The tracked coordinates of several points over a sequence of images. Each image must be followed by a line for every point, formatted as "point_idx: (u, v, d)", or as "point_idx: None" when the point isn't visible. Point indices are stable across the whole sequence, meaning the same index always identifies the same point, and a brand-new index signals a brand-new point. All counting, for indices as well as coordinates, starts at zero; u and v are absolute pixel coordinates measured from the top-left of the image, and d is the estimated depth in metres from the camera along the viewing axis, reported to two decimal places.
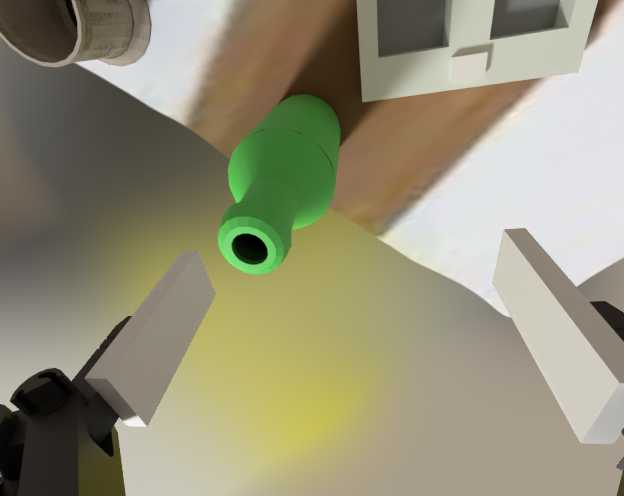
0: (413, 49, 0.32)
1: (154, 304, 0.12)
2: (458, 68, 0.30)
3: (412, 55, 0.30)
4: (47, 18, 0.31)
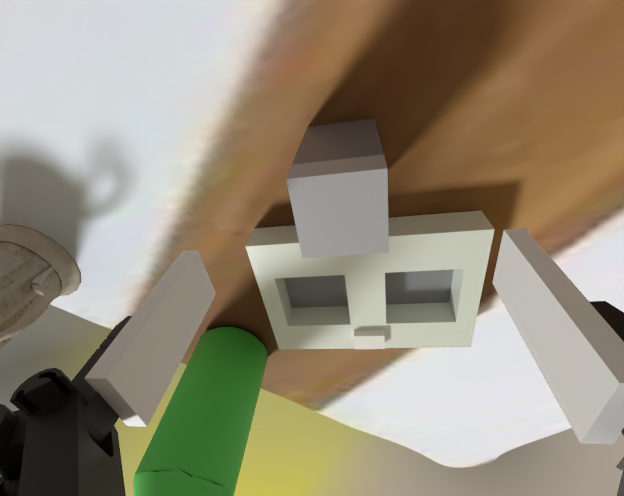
0: (324, 306, 0.34)
1: (154, 304, 0.12)
2: (360, 342, 0.32)
3: (318, 326, 0.32)
4: None
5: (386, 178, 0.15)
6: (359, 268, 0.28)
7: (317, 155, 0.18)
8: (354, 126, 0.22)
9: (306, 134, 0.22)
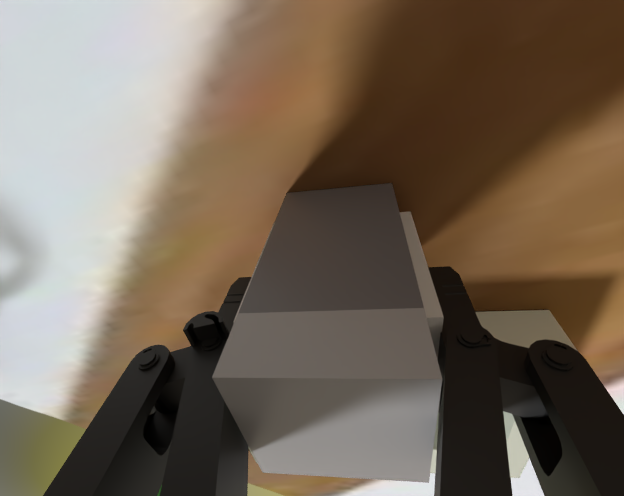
0: None
1: None
2: None
3: None
4: None
5: (437, 393, 0.07)
6: None
7: (291, 285, 0.10)
8: (360, 201, 0.13)
9: (281, 213, 0.14)
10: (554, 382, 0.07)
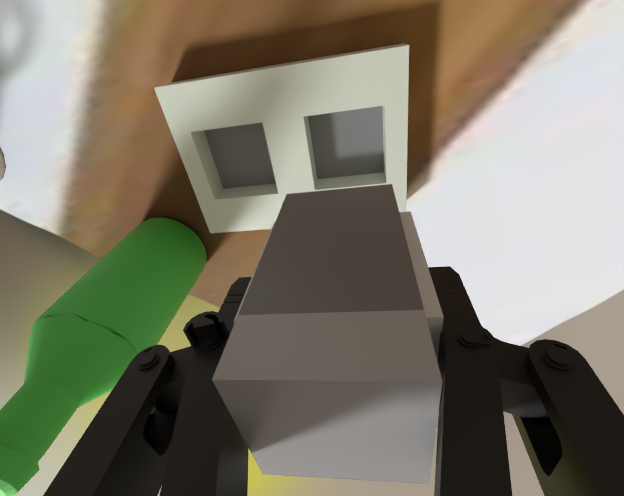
0: (256, 184, 0.33)
1: None
2: None
3: (245, 198, 0.31)
4: None
5: (437, 395, 0.07)
6: (276, 111, 0.26)
7: (291, 287, 0.10)
8: (360, 202, 0.13)
9: (281, 214, 0.14)
10: (554, 382, 0.07)
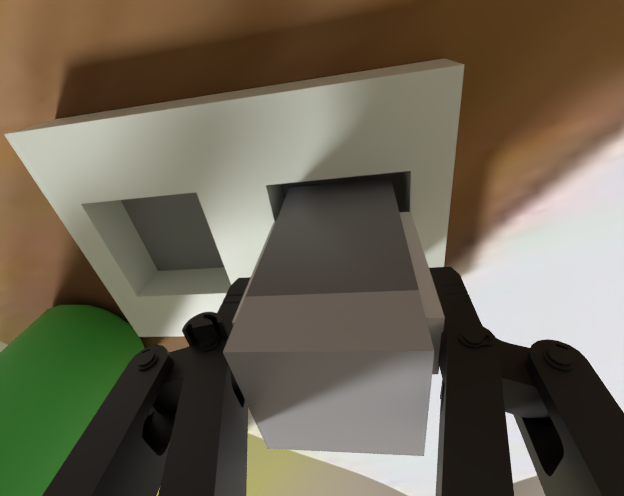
0: (206, 267, 0.21)
1: None
2: None
3: (184, 297, 0.20)
4: None
5: (430, 365, 0.07)
6: (218, 176, 0.15)
7: (295, 272, 0.10)
8: (360, 195, 0.14)
9: (284, 206, 0.14)
10: (556, 382, 0.07)
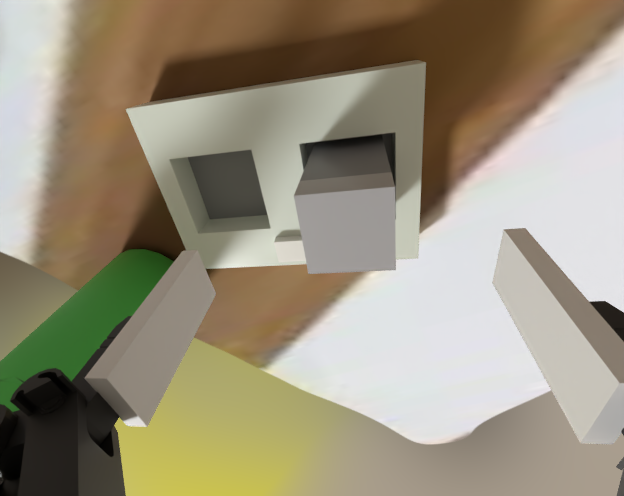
0: (246, 215, 0.29)
1: (154, 304, 0.12)
2: (283, 252, 0.26)
3: (233, 233, 0.27)
4: None
5: (394, 196, 0.15)
6: (267, 137, 0.22)
7: (325, 171, 0.18)
8: (361, 142, 0.22)
9: (314, 150, 0.23)
10: None
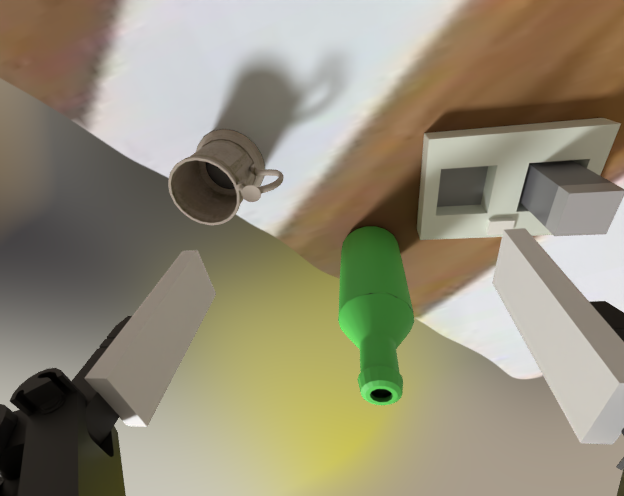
0: (459, 205, 0.44)
1: (154, 304, 0.12)
2: (493, 228, 0.42)
3: (460, 215, 0.42)
4: (194, 176, 0.43)
5: (623, 195, 0.31)
6: (510, 158, 0.38)
7: (567, 181, 0.34)
8: (562, 163, 0.38)
9: (534, 166, 0.38)
10: None
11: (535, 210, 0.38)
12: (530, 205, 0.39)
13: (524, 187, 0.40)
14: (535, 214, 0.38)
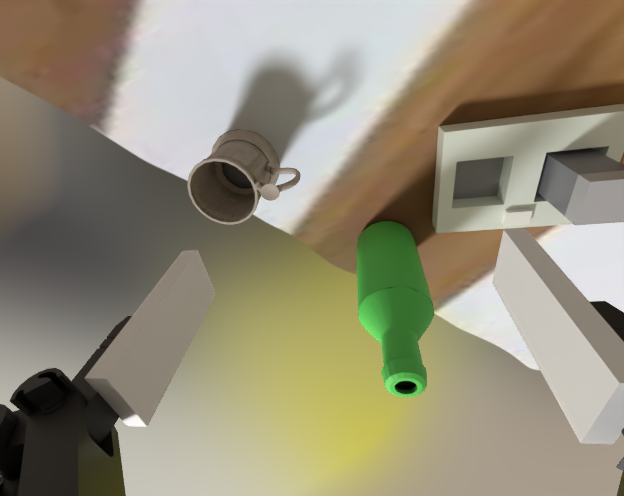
0: (475, 197, 0.44)
1: (154, 304, 0.12)
2: (510, 219, 0.42)
3: (476, 207, 0.42)
4: (211, 177, 0.43)
5: None
6: (527, 149, 0.37)
7: (587, 169, 0.34)
8: (580, 151, 0.38)
9: (551, 156, 0.38)
10: None
11: (553, 200, 0.38)
12: (548, 195, 0.39)
13: (541, 177, 0.40)
14: (553, 204, 0.38)
